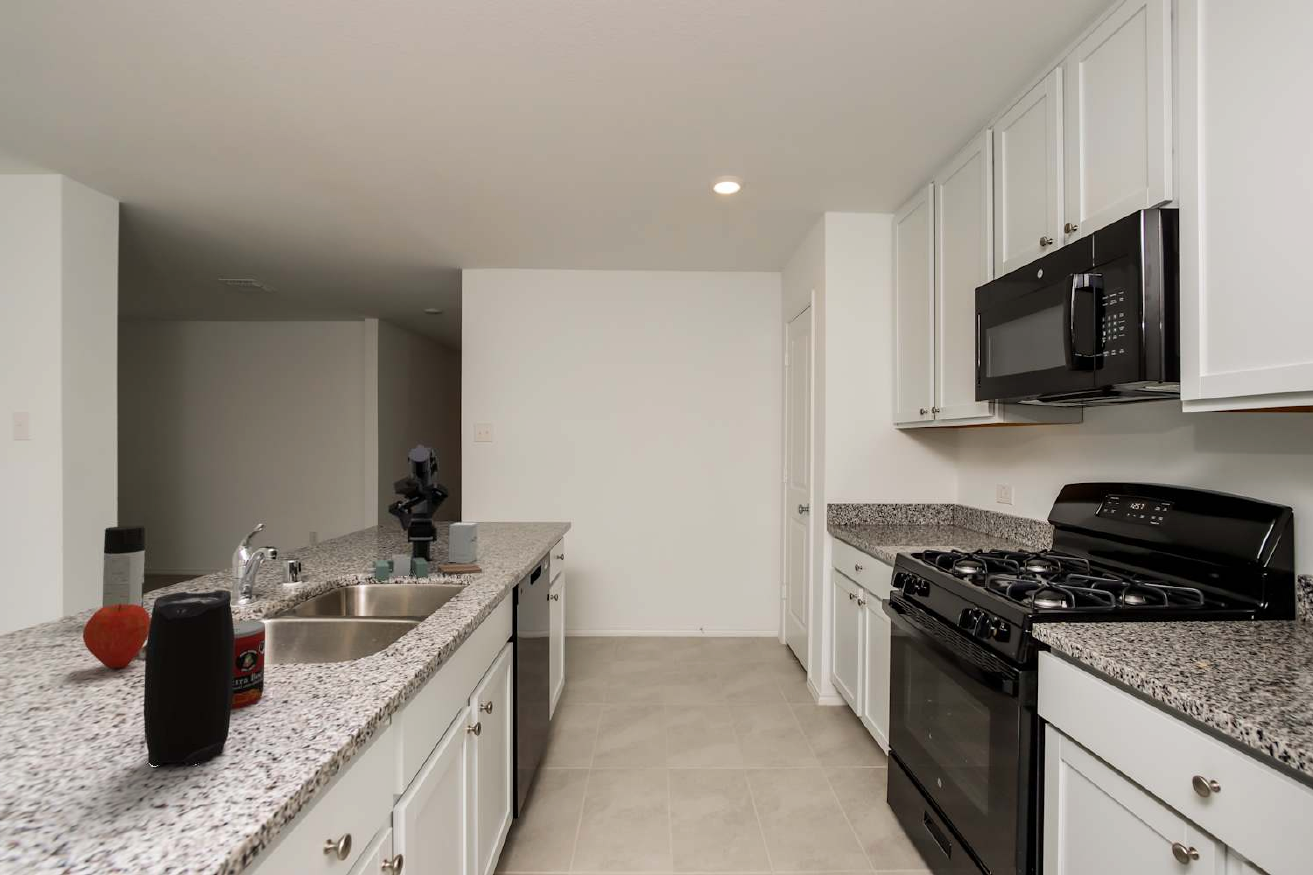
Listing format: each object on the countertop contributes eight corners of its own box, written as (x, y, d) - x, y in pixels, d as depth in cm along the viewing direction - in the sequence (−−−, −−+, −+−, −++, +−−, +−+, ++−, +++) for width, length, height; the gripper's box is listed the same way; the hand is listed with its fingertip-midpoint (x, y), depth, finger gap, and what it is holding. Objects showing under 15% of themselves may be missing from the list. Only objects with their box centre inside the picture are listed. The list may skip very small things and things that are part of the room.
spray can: (149, 620, 134) (152, 526, 135) (111, 628, 128) (114, 530, 129) (132, 615, 137) (135, 524, 138) (94, 623, 131) (97, 527, 131)
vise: (363, 571, 189) (364, 558, 189) (420, 567, 196) (420, 554, 196) (367, 581, 175) (367, 567, 175) (427, 576, 183) (428, 563, 183)
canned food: (217, 716, 88) (219, 637, 89) (191, 703, 93) (193, 628, 93) (274, 698, 95) (276, 625, 95) (247, 686, 99) (249, 616, 99)
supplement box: (470, 563, 205) (471, 525, 205) (447, 563, 205) (448, 524, 205) (477, 559, 212) (478, 522, 212) (455, 559, 212) (456, 521, 212)
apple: (70, 678, 101) (72, 611, 101) (101, 661, 109) (103, 598, 109) (133, 674, 103) (135, 608, 103) (159, 657, 111) (161, 596, 112)
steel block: (391, 575, 185) (392, 554, 185) (408, 573, 187) (408, 553, 187) (393, 577, 181) (394, 557, 181) (410, 576, 183) (410, 556, 183)
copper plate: (437, 568, 195) (438, 565, 195) (473, 566, 201) (473, 562, 201) (444, 575, 186) (444, 571, 186) (481, 572, 191) (481, 569, 191)
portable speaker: (240, 733, 83) (245, 586, 84) (214, 768, 74) (220, 603, 75) (163, 741, 81) (168, 589, 81) (127, 778, 72) (133, 607, 72)
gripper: (376, 482, 191) (371, 525, 182) (424, 457, 187) (421, 500, 177) (404, 498, 200) (400, 540, 190) (450, 474, 195) (449, 516, 185)
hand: (416, 524), depth 185 cm, fingers open, 9 cm apart
